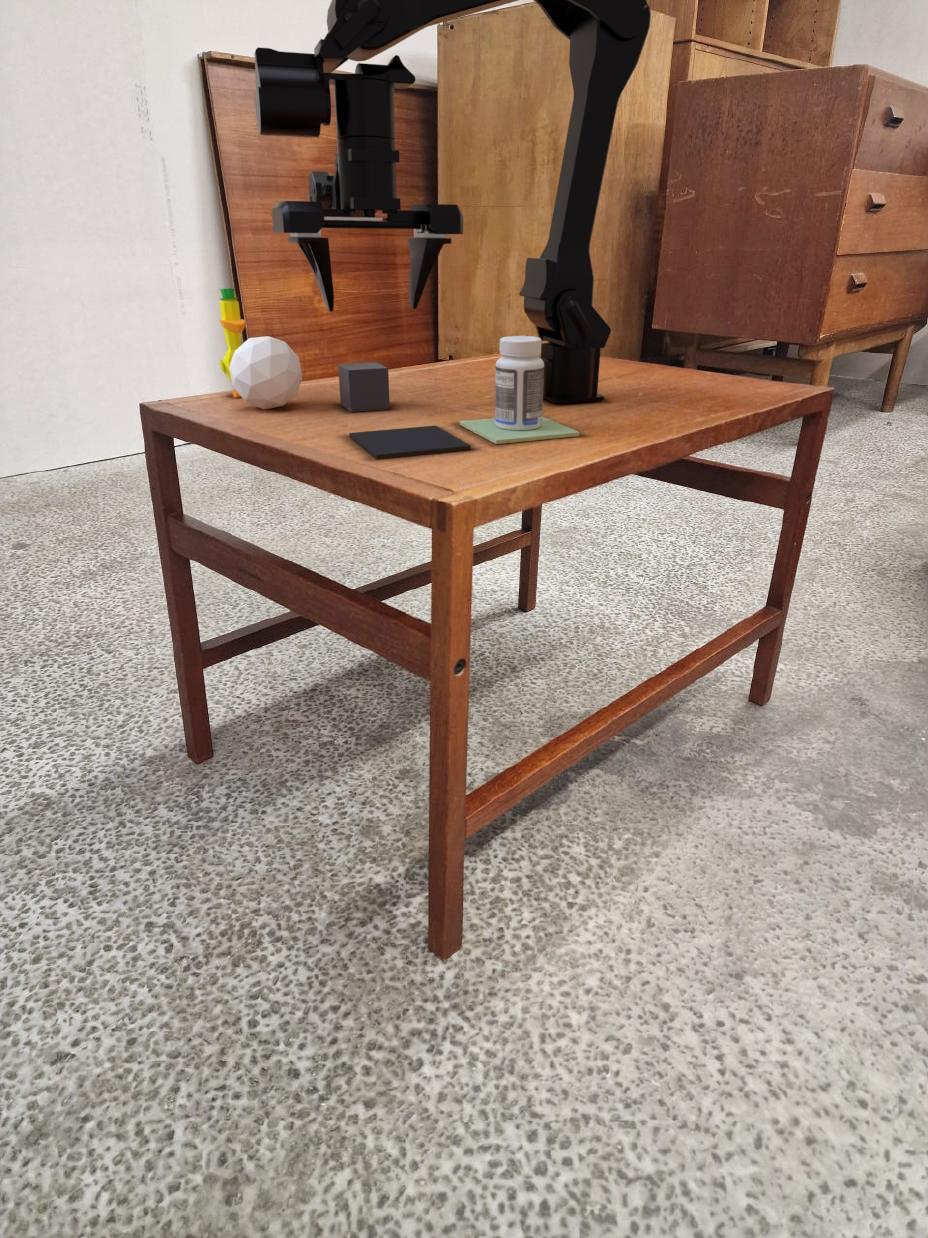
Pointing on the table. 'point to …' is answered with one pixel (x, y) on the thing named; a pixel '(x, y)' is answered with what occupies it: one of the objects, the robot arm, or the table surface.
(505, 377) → the pill bottle
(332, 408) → the table surface
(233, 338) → the toy figure
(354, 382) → the slate block
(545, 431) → the sage mat
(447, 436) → the charcoal mat
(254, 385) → the geometric ball
